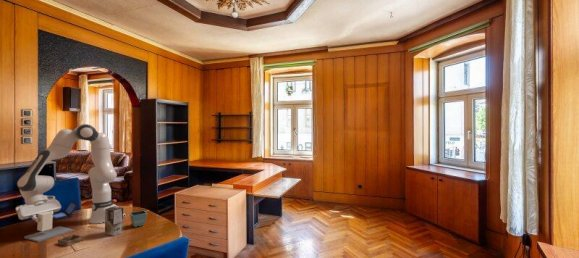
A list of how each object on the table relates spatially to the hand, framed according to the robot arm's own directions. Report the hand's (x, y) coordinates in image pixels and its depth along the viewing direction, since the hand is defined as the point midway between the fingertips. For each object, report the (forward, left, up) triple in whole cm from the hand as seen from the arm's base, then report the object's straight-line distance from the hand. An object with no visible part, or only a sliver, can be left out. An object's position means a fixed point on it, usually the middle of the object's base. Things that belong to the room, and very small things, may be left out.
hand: (45, 219), depth 160 cm
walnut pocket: (0, +24, -10) cm, 26 cm away
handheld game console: (-26, -30, -10) cm, 41 cm away
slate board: (-2, 0, -10) cm, 10 cm away
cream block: (0, 0, -6) cm, 6 cm away
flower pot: (-34, +37, -10) cm, 52 cm away
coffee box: (-19, +34, -10) cm, 41 cm away
